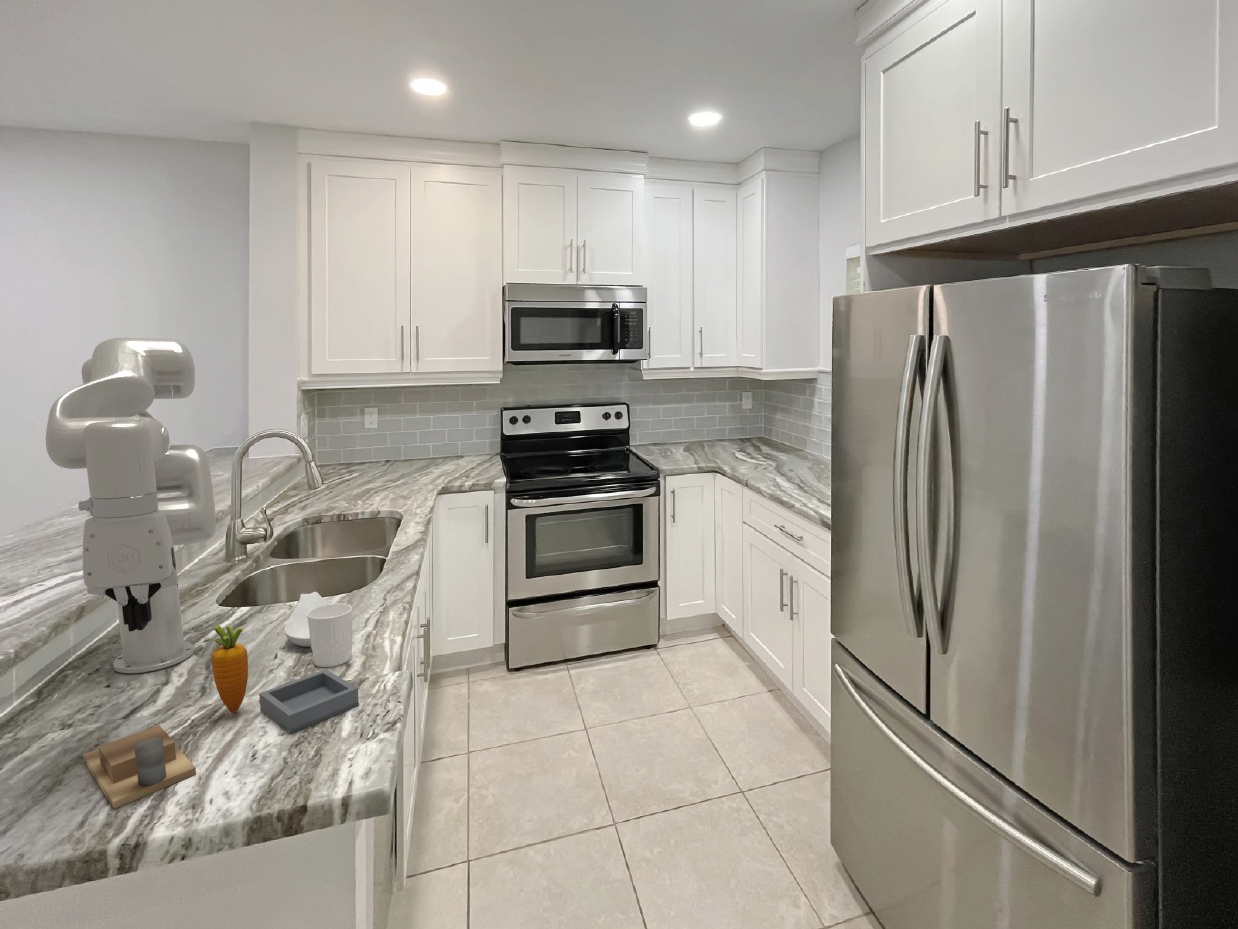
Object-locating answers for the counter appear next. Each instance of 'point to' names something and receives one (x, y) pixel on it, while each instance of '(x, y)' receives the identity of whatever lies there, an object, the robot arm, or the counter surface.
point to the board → (130, 783)
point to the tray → (308, 700)
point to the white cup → (330, 634)
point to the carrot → (230, 668)
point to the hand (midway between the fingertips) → (138, 627)
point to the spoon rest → (302, 619)
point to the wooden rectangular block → (131, 753)
